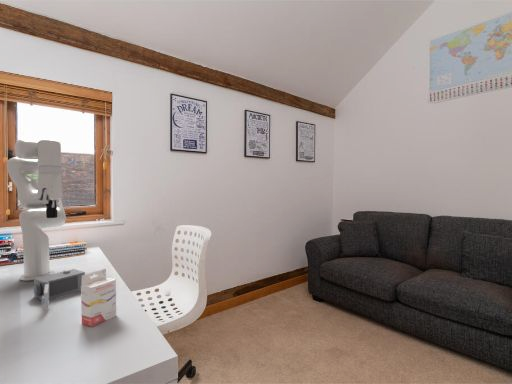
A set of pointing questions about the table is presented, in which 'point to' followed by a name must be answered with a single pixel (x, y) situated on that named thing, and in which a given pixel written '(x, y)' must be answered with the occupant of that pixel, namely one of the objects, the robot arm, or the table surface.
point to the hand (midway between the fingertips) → (52, 217)
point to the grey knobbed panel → (59, 283)
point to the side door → (46, 295)
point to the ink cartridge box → (97, 298)
